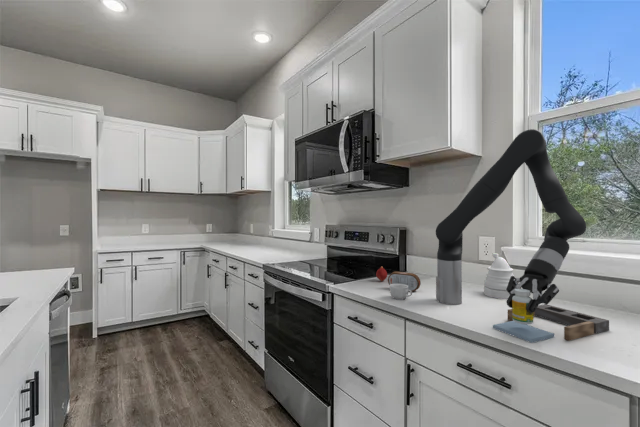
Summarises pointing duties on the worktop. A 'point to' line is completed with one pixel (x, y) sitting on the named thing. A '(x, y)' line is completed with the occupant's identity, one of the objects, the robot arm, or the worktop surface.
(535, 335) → the pad
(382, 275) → the onion
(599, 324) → the channel
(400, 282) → the tin
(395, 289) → the teacup
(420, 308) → the worktop surface
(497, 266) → the honey pot
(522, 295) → the supplement bottle
